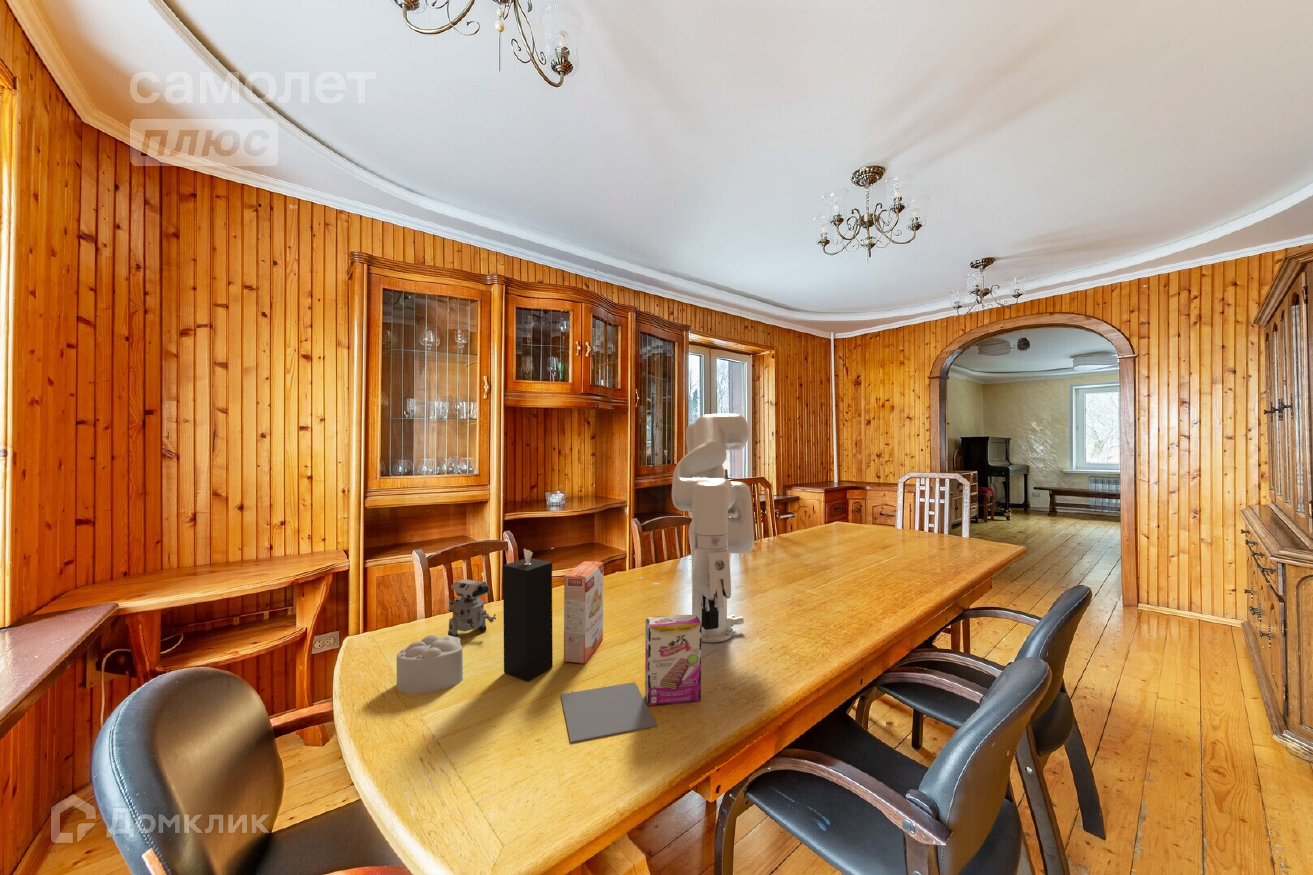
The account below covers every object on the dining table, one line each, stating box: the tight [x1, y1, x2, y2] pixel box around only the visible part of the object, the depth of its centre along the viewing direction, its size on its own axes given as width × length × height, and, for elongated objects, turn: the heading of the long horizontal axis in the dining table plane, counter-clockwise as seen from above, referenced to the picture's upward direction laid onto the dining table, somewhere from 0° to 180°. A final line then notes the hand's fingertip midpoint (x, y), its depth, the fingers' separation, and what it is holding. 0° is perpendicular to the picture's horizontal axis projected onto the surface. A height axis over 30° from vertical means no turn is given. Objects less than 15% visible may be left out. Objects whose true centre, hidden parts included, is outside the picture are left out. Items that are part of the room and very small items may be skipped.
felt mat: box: [560, 681, 658, 744], centre depth 95 cm, size 16×16×1 cm
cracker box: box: [563, 560, 605, 665], centre depth 120 cm, size 14×6×21 cm, turn 168°
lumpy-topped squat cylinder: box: [396, 634, 464, 695], centre depth 106 cm, size 10×13×9 cm
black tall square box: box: [502, 548, 554, 682], centre depth 110 cm, size 8×8×28 cm
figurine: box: [447, 578, 497, 638], centre depth 129 cm, size 9×12×15 cm
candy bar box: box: [644, 614, 702, 707], centre depth 99 cm, size 11×5×16 cm, turn 100°
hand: (710, 627), depth 101 cm, fingers closed
